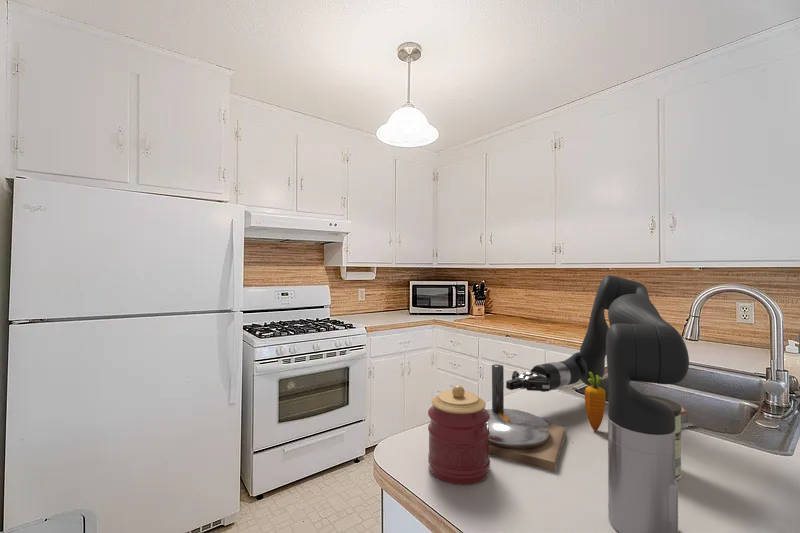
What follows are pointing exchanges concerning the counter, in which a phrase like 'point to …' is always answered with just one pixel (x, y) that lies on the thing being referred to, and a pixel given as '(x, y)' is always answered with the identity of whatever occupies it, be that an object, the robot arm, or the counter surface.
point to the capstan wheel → (512, 420)
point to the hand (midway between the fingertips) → (508, 385)
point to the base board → (535, 451)
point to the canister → (459, 437)
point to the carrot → (595, 402)
